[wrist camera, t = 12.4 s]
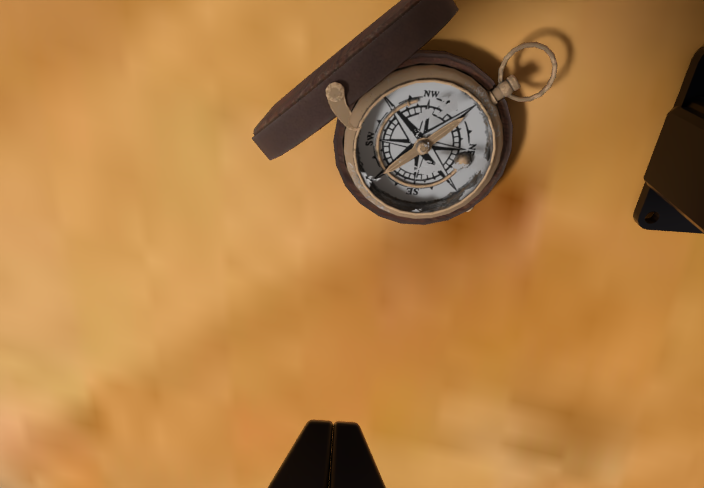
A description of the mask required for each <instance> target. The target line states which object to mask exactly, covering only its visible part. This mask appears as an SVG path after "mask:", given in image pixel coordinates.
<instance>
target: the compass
mask: <svg viewBox="0 0 704 488" xmlns="http://www.w3.org/2000/svg"><path fill="white" fill-rule="evenodd" d="M458 10H459V9H458V7H457V6H456V4H455V3H454V1H453V0H401V1H400V2H398V3H397V4H396V5H395V6H393V7H392V8H391V9H390V10H388V11H387V12H386V13H385V14H383V15H382V16H381V17H380V18H378V19H377V20H376V21H375V22H374V23H372V24H371V25H370V26H369V27H367V28H366V29H365V30H364V31H363V32H361V33H360V34H359V35H358V36H356V37H355V38H354V39H353V40H352V41H350V42H349V43H348V44H347V45H345V46H344V47H343V48H342V49H341V50H339V51H338V52H337V53H336V54H335V55H333V56H332V57H331V58H330V59H328V60H327V61H326V62H325V63H324V64H322V65H321V66H320V67H319V68H318V69H316V70H315V71H314V72H313V73H312V74H310V75H309V76H308V77H307V78H306V79H304V80H303V81H302V82H301V83H300V84H298V85H297V86H296V87H295V88H294V89H292V90H291V91H290V92H289V93H288V94H286V95H285V96H284V97H283V98H282V99H281V100H279V101H278V102H277V103H276V104H275V105H274V106H273V107H272V108H271V109H270V111H269V112H268V113H267V114H266V115H265V117H264V118H263V119H262V120H261V121H260V123H259V124H258V125H257V126H256V127H255V129H254V133H253V134H254V135H255V136H253V138H252V139H253V141H254V142H255V143H256V144H257V145H258V147H259V148H260V149H261V150H262V152H263V153H264V154H265V155H266V156H267V158H268V159H269V160H272V159H274V158H277V157H279V156H281V155H283V154H284V153H286V152H288V151H289V150H291V149H292V148H294V147H295V146H297V145H298V144H300V143H301V142H303V141H304V140H305V139H307V138H308V137H310V136H311V135H312V134H314V133H315V132H317V131H318V130H320V129H321V128H322V127H323V126H325V125H326V124H327V123H329V122H330V121H331V120H333V119H334V118H335V117H338V118H337V124H336V129H335V135H334V140H333V142H334V151H335V159H336V166H337V168H338V170H339V173H340V175H341V177H342V180H343V182H344V184H345V186H346V187H347V189H348V190H349V191H350V192H351V193H352V195H353V196H354V197H355V198H356V199H357V200H358V202H359V203H360V204H361V205H363V206H365V207H366V208H368V209H369V210H371V211H372V212H374V213H375V214H377V215H378V216H380V217H383V218H386V219H389V220H392V221H395V222H398V223H403V224H421V225H425V224H430V223H435V222H441V221H446V220H449V219H451V218H453V217H455V216H457V215H460V214H462V213H464V212H468V211H471V210H472V209H473V207H474V206H475V205H476V204H477V203H478V202H480V201H481V200H482V199H483V198H484V197H486V196H487V195H488V194H489V193H490V191H491V190H492V188H493V187H494V186H495V184H496V183H497V181H498V180H499V179H500V177H501V176H502V175H503V172H504V169H505V167H506V164H507V161H508V158H509V156H510V153H511V146H512V130H513V125H512V121H511V117H510V113H509V109H508V105H507V102H506V100H505V99H504V97H508V98H510V99H512V100H515V101H518V102H525V101H532V100H534V99H536V98H538V97H541V96H542V95H543V94H544V93H545V92H546V91H547V90H548V89H549V88H550V87H551V85H552V83H553V81H554V80H555V78H556V73H557V62H556V58H555V55H554V53H553V52H552V51H551V50H550V49H549V48H548V47H547V46H546V45H543V44H540V43H538V42H529V43H523V44H521V45H519V46H517V47H515V48H513V49H512V50H511V51H510V52H509V53H508V54H507V55H506V56H505V57H504V59H503V61H502V63H501V65H500V67H499V73H498V82H499V84H498V85H497V87H496V85H495V83H494V81H493V80H492V79H491V78H490V77H489V76H488V75H487V74H485V73H484V72H483V71H482V70H481V69H479V68H478V67H477V66H476V65H474V64H473V63H472V62H471V61H469V60H466V59H464V58H461V57H459V56H456V55H453V54H451V53H448V52H446V51H430V50H419V49H420V48H421V47H423V46H424V45H425V44H426V43H427V42H428V41H429V40H430V39H432V38H433V37H434V36H435V35H436V34H437V33H438V32H439V31H440V30H441V29H442V28H443V27H444V26H445V25H446V24H447V23H448V22H449V21H450V20H451V19H452V17H453V16H454V15H455V14H456V12H457V11H458ZM529 47H536V48H539V49H542V50H544V51H545V52H546V53H547V54H548V55H549V57H550V59H551V63H552V74H551V77H550V79H549V81H548V83H547V85H546V86H545V87H544V88H543V89H542V90H541V91H540V92H539V93H537V94H534V95H532V96H530V97H518V96H515V95H512V93H513V91H516V90H518V89H519V88H520V84H519V82H518V80H517V79H516V77H515V76H514V75H510V76H508V77H507V78H506V80H503V70H504V67H505V65H506V63H507V61H508V60H509V58H510V57H511V56H512V55H513V54H514V53H515V52H517V51H519V50H521V49H524V48H529Z"/></svg>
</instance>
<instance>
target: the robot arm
mask: <svg viewBox="0 0 704 488" xmlns="http://www.w3.org/2000/svg"><path fill="white" fill-rule="evenodd" d="M644 180H645V184H644V186H643V189H642V192H641V194H640V197H639V200H638V202H637V205H636V208H635V210H634V214H633V217H634V220H635V221H636V223H637V224H638V225H639V226H641V227H642V228H643V229H647V230H661V231H675V232H689V233H703V234H704V47H702V48H700V49H699V50H698V51H697V52H696V53H695V54H694V56H693V58H692V60H691V62H690V65H689V68H688V70H687V73H686V76H685V78H684V81H683V84H682V86H681V89H680V91H679V94H678V97H677V99H676V102H675V105H674V107H673V109H672V110H671V111H670V112H669V113H668V114H667V117H666V120H665V122H664V125H663V128H662V130H661V133H660V136H659V138H658V141H657V143H656V146H655V149H654V151H653V154H652V157H651V159H650V162H649V165H648V167H647V170H646V173H645V175H644ZM650 212H654V214H653V215H652V216H651V217H650V218H648V219H645V217H646V215H647V214H648V213H650ZM332 434H333V438H332ZM331 449H332V452H331ZM330 463H331V466H330ZM329 477H330V480H329ZM268 488H386V487H385V485H384V482H383V480H382V478H381V475H380V473H379V471H378V468H377V466H376V464H375V461H374V459H373V456H372V454H371V452H370V449H369V447H368V445H367V442H366V440H365V438H364V435H363V433H362V431H361V428H360V426H359V425H358V424H357V423H355V422H341V421H338V422H335V423H334V426H333V424H332V422H331V421H326V420H310V421H308V422H307V424H306V425H305V427H304V428H303V430H302V432H301V433H300V435H299V437H298V438H297V440H296V442H295V443H294V445H293V447H292V448H291V450H290V452H289V453H288V455H287V457H286V458H285V460H284V462H283V463H282V465H281V467H280V468H279V470H278V471H277V473H276V475H275V476H274V478H273V480H272V481H271V483H270V485H269V486H268Z"/></svg>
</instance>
